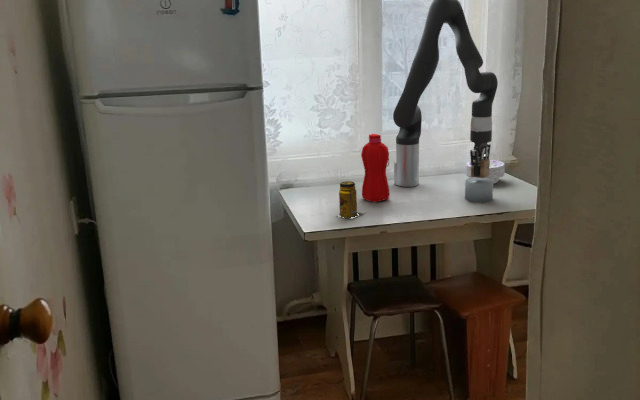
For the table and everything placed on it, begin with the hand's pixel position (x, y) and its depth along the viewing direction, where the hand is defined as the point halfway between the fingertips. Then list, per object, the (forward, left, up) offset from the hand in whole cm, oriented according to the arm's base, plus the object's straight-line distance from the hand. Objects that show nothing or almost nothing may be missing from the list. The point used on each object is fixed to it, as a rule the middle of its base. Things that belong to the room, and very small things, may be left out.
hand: (479, 174), depth 223 cm
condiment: (-31, -40, -10) cm, 52 cm away
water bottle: (-33, -18, -10) cm, 39 cm away
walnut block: (0, 0, -1) cm, 1 cm away
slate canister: (0, 0, -9) cm, 9 cm away
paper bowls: (-7, +24, -10) cm, 27 cm away
